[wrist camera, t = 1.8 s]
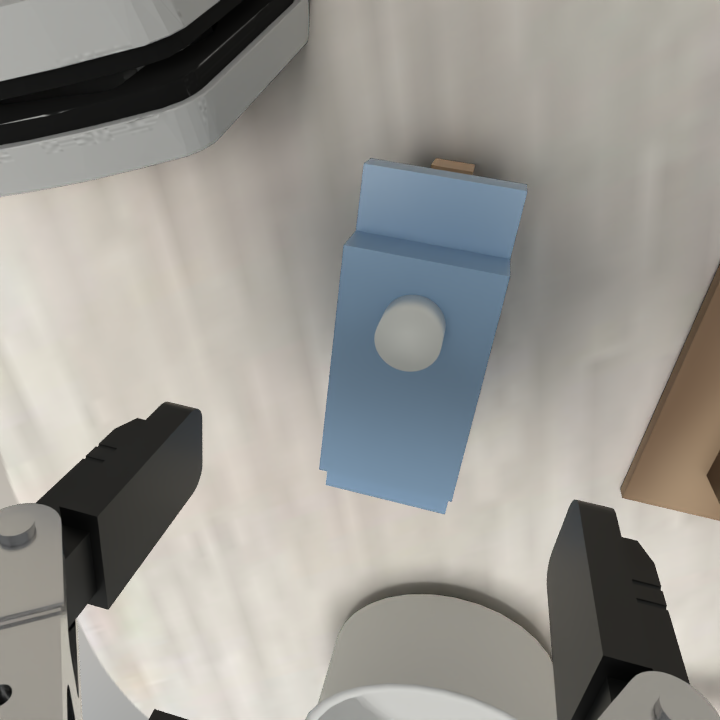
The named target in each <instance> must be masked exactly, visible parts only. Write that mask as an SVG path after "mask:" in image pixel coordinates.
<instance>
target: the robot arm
mask: <svg viewBox="0 0 720 720" xmlns="http://www.w3.org/2000/svg"><path fill="white" fill-rule="evenodd" d="M201 471H202V414H201V411H200V410H199V409H196V408H192V407H187V406H183V405H179V404H175V403H171V402H164V403H163V404H161V405H160V406H159V407H158V408H157V409H156V410H155V411H154V412H153V413H152V414H151V415H150V416H149V417H148V418H147V419H146V420H143V419H139V418H136V419H134V420H132V421H130V422H128V423H126V424H124V425H122V426H120V427H118V428H116V429H114V430H113V431H112V432H111V433H110V434H109V435H108V436H107V437H106V438H105V439H103V440H102V441H101V442H100V443H99V446H98V447H95V448H94V449H93V450H92V451H91V452H90V453H89V454H87V455H86V458H85V459H82V460H81V461H80V462H79V463H78V464H77V465H76V466H75V467H74V468H73V469H71V470H70V471H69V472H68V473H67V474H66V475H65V476H64V477H63V478H62V479H61V480H60V481H59V482H58V483H57V484H55V485H54V486H53V487H52V488H51V489H50V490H49V491H48V492H47V493H46V494H45V495H44V496H43V497H42V498H41V499H39V500H38V501H37V502H36V503H25V504H17V505H13V506H9V507H6V508H3V509H1V510H0V720H83V718H82V705H81V703H82V702H81V683H80V663H79V644H78V625H77V619H76V618H77V617H78V615H79V614H80V613H81V612H82V610H83V609H84V608H85V606H86V605H87V604H91V605H94V606H97V607H101V608H104V609H109V608H110V607H111V605H112V604H113V603H114V601H115V600H116V598H117V597H118V596H119V594H120V593H121V592H122V590H123V589H124V587H125V586H126V585H127V583H128V582H129V581H130V579H131V578H132V576H133V575H134V574H135V572H136V571H137V569H138V568H139V567H140V565H141V564H142V563H143V561H144V560H145V558H146V557H147V556H148V554H149V553H150V552H151V550H152V549H153V547H154V546H155V545H156V543H157V542H158V541H159V539H160V538H161V536H162V535H163V534H164V532H165V531H166V530H167V528H168V527H169V525H170V524H171V523H172V521H173V520H174V519H175V517H176V516H177V514H178V513H179V512H180V510H181V509H182V508H183V506H184V505H185V503H186V502H187V501H188V499H189V498H190V497H191V495H192V494H193V492H194V491H195V489H196V487H197V485H198V482H199V479H200V476H201ZM547 594H548V607H549V620H550V633H551V646H552V659H553V672H554V685H555V698H556V712H557V720H720V716H719V715H718V713H717V711H716V710H715V709H714V707H713V706H712V705H711V704H710V702H709V701H708V700H707V699H706V698H705V697H704V696H703V695H702V694H701V693H700V692H698V691H697V690H696V689H695V688H693V687H692V686H691V685H690V683H689V680H688V676H687V673H686V670H685V666H684V663H683V659H682V656H681V653H680V649H679V646H678V642H677V639H676V635H675V632H674V629H673V625H672V622H671V618H670V615H669V612H668V610H666V606H667V605H666V601H665V598H664V595H663V591H661V584H660V581H659V578H658V574H657V571H656V567H655V564H654V562H653V561H652V560H651V558H650V557H649V556H648V554H647V553H646V552H645V550H644V549H643V548H642V546H641V545H640V544H639V542H638V541H636V540H632V539H628V538H623V537H621V533H620V529H619V525H618V521H617V516H616V513H615V511H614V509H613V508H609V507H605V506H600V505H596V504H592V503H588V502H584V501H579V500H573V501H572V503H571V505H570V507H569V509H568V512H567V514H566V517H565V519H564V522H563V525H562V527H561V530H560V532H559V535H558V538H557V540H556V543H555V545H554V548H553V551H552V553H551V557H550V560H549V565H548V572H547ZM149 720H187V719H184V718H181V717H178V716H175V715H172V714H168V713H165V712H162V711H159V710H156V709H154V711H153V713H152V714H151V716H150V718H149Z"/></svg>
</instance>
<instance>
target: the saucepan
mask: <svg viewBox="0 0 720 720" xmlns="http://www.w3.org/2000/svg"><path fill="white" fill-rule="evenodd" d="M305 720H557V712H556V698H555V685H554V672H553V663H552V661H551V659H550V657H549V655H548V653H547V652H546V651H545V650H544V648H543V647H542V646H541V645H540V643H539V642H538V641H537V640H536V639H535V638H534V637H533V636H532V635H531V634H529V633H528V632H527V631H526V630H525V629H524V628H522V627H521V626H520V625H519V624H517V623H515V622H514V621H512V620H510V619H509V618H507V617H505V616H504V615H502V614H500V613H498V612H496V611H493V610H491V609H489V608H486V607H484V606H482V605H479V604H477V603H473V602H469V601H466V600H462V599H458V598H455V597H448V596H440V595H433V594H407V595H401V596H395V597H388V598H385V599H382V600H379V601H376V602H373V603H371V604H368V605H367V606H365V607H363V608H362V609H360V610H358V611H357V612H355V613H354V614H353V615H352V616H351V617H350V618H349V619H348V620H347V621H346V622H345V623H344V625H343V627H342V629H341V631H340V633H339V635H338V637H337V641H336V644H335V647H334V651H333V654H332V658H331V661H330V665H329V668H328V671H327V675H326V678H325V682H324V685H323V688H322V692H321V695H320V699H319V702H318V705H317V706H316V707H315V708H313V709H312V710H311V711H310V712H309V713H308V715H307V717H306V719H305Z"/></svg>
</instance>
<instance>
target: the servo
mask: <svg viewBox="0 0 720 720" xmlns="http://www.w3.org/2000/svg"><path fill="white" fill-rule="evenodd" d="M474 167H475V165H474V164H468V163H462V162H456V161H450V160H444V159H438V158H436V159H435V160H434V162H433V163H432V165H431V168H426V167H420V166H414V165H408V164H402V163H396V162H391V161H385V160H379V159H373V158H370V159H369V160H368V161H366V162H365V163H364V166H363V175H362V183H361V192H360V200H359V209H358V217H357V226H356V231H355V232H354V233H353V235H352V236H351V237H350V238H349V239H348V241H347V242H346V243H345V244H344V247H343V256H342V266H341V275H340V284H339V293H338V302H337V311H336V321H335V330H334V339H333V348H332V357H331V366H330V375H329V385H328V394H327V403H326V412H325V421H324V430H323V440H322V449H321V458H320V467H319V469H320V470H324V471H327V479H326V485H329V486H333V487H337V488H341V489H345V490H349V491H353V492H357V493H361V494H365V495H369V496H373V497H377V498H381V499H385V500H389V501H393V502H397V503H401V504H405V505H409V506H413V507H417V508H421V509H425V510H429V511H433V512H437V513H442V514H445V511H446V507H447V503H448V501H450V502H452V498H453V494H454V490H455V486H456V482H457V479H458V475H459V471H460V467H461V463H462V459H463V455H464V452H465V448H466V444H467V440H468V436H469V432H470V429H471V425H472V421H473V417H474V413H475V409H476V405H477V402H478V398H479V394H480V390H481V386H482V382H483V379H484V375H485V371H486V367H487V363H488V359H489V355H490V352H491V348H492V344H493V340H494V336H495V332H496V329H497V325H498V321H499V317H500V313H501V309H502V306H503V302H504V298H505V294H506V290H507V286H508V282H509V279H510V258H511V254H512V250H513V246H514V242H515V238H516V234H517V230H518V226H519V222H520V218H521V215H522V211H523V207H524V203H525V199H526V195H527V184H521V183H516V182H510V181H504V180H498V179H492V178H486V177H480V176H474V175H473V172H474Z"/></svg>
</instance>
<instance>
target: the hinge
mask: <svg viewBox="0 0 720 720" xmlns="http://www.w3.org/2000/svg"><path fill="white" fill-rule="evenodd" d="M308 35H309V1H308V0H0V197H2V196H8V195H15V194H21V193H28V192H34V191H40V190H45V189H51V188H56V187H61V186H66V185H71V184H76V183H81V182H86V181H90V180H95V179H99V178H103V177H107V176H111V175H116V174H120V173H124V172H128V171H132V170H137V169H141V168H144V167H148V166H152V165H156V164H160V163H164V162H168V161H171V160H175V159H179V158H183V157H187V156H189V155H192V154H194V153H197V152H199V151H201V150H203V149H205V148H207V147H208V146H210V145H212V144H213V143H215V142H216V141H217V140H218V139H219V138H220V137H221V136H222V135H223V134H224V133H225V131H226V130H227V129H228V128H229V127H230V126H231V125H232V124H233V123H234V122H235V120H236V119H237V118H238V117H239V116H240V115H241V114H242V113H243V112H244V111H245V110H246V108H247V107H248V106H249V105H250V104H251V103H252V102H253V101H254V100H255V99H256V97H257V96H258V95H259V94H260V93H261V92H262V91H263V90H264V89H265V88H266V87H267V85H268V84H269V83H270V82H271V81H272V80H273V79H274V78H275V77H276V76H277V74H278V73H279V72H280V71H281V70H282V69H283V68H284V67H285V66H286V65H287V64H288V62H289V61H290V60H291V59H292V58H293V57H294V56H295V55H296V54H297V53H298V51H299V50H300V49H301V48H302V47H303V46H304V45H305V44H306V43H307V42H308Z"/></svg>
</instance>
